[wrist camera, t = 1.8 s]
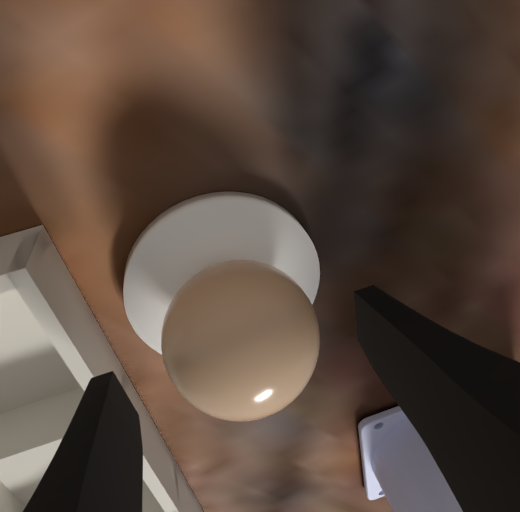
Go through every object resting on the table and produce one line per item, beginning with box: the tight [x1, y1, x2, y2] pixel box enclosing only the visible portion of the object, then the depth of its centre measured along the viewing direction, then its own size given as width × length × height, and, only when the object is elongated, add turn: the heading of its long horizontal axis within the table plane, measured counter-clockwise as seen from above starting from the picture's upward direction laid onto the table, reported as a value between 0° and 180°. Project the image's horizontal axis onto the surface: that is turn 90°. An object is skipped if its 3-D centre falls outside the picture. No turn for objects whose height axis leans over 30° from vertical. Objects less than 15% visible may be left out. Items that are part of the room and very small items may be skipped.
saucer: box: [123, 191, 320, 354], centre depth 15 cm, size 7×7×1 cm
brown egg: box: [161, 260, 320, 421], centre depth 13 cm, size 5×5×5 cm
